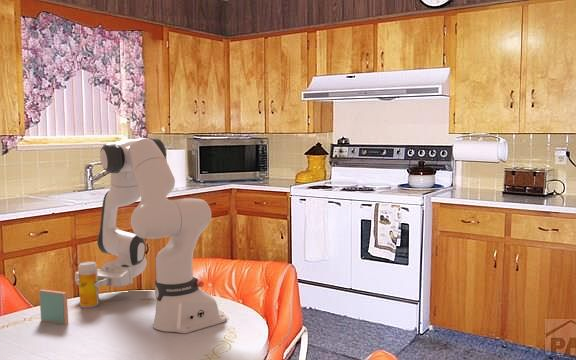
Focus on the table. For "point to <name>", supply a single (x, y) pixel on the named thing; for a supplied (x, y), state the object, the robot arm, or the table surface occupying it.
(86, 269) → the beer can
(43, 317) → the tile
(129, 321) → the table surface
